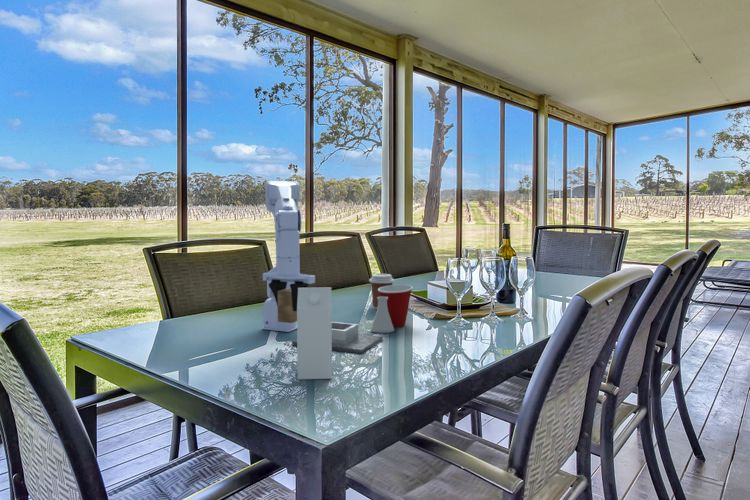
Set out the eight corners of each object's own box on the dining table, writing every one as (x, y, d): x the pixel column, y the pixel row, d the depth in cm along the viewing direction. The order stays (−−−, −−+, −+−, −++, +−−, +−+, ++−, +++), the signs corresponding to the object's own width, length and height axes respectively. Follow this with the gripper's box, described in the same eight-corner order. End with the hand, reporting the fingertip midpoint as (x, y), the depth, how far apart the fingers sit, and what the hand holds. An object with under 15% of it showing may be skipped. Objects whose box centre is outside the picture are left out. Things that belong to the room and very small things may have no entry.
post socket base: (292, 345, 132) (292, 328, 132) (318, 333, 145) (318, 317, 144) (361, 353, 124) (361, 335, 124) (382, 340, 137) (382, 324, 137)
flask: (392, 334, 144) (392, 300, 143) (367, 333, 145) (367, 299, 144) (396, 328, 151) (396, 295, 150) (372, 327, 152) (372, 294, 151)
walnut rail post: (277, 321, 128) (277, 290, 128) (286, 318, 132) (286, 288, 132) (291, 323, 127) (291, 291, 126) (299, 320, 131) (299, 289, 130)
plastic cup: (372, 323, 158) (372, 285, 157) (402, 320, 162) (403, 283, 161) (386, 330, 148) (386, 290, 147) (418, 327, 152) (419, 288, 151)
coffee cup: (370, 305, 187) (370, 273, 186) (394, 305, 186) (395, 273, 185) (367, 309, 178) (367, 276, 177) (393, 310, 177) (393, 276, 176)
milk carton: (299, 369, 112) (299, 285, 110) (331, 368, 113) (331, 284, 111) (297, 380, 105) (296, 290, 103) (331, 379, 106) (331, 290, 104)
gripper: (255, 257, 127) (256, 310, 128) (304, 259, 122) (305, 315, 123) (271, 255, 134) (272, 305, 135) (319, 257, 128) (319, 309, 129)
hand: (288, 309), depth 129 cm, fingers closed on walnut rail post, 4 cm apart
